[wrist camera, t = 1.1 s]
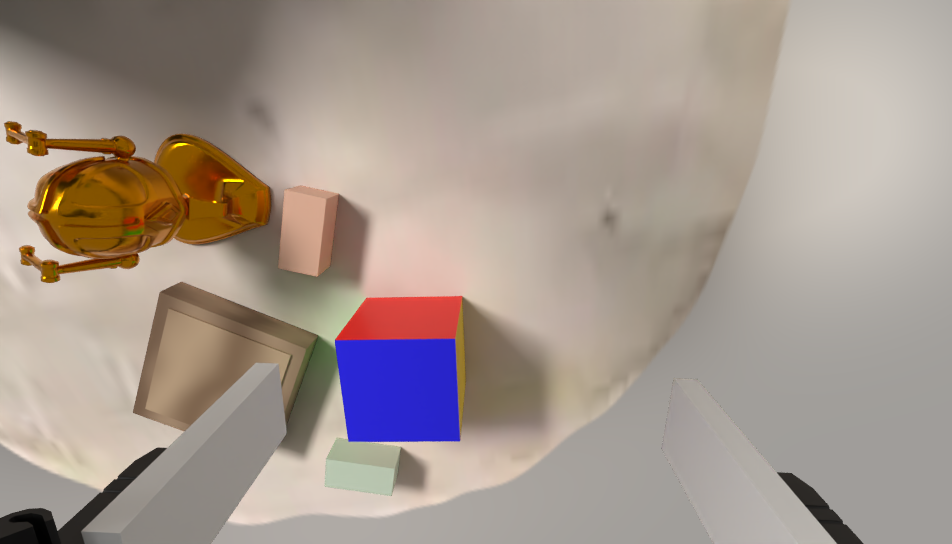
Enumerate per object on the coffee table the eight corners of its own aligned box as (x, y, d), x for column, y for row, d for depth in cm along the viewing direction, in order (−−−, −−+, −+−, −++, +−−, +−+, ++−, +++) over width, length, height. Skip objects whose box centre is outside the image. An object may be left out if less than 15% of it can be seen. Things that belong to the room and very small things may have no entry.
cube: (462, 296, 37) (455, 338, 29) (465, 381, 39) (460, 441, 31) (366, 297, 37) (334, 340, 29) (375, 382, 39) (348, 441, 32)
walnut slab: (153, 396, 40) (131, 413, 38) (181, 281, 37) (158, 292, 34) (280, 442, 41) (266, 462, 39) (318, 335, 38) (305, 349, 35)
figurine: (131, 122, 33) (-58, 116, 22) (274, 151, 34) (162, 160, 22) (135, 232, 36) (-32, 278, 24) (268, 258, 36) (165, 315, 25)
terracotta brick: (330, 265, 36) (317, 276, 33) (294, 257, 36) (277, 268, 33) (339, 193, 35) (326, 198, 32) (301, 185, 34) (284, 189, 32)
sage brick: (335, 462, 42) (324, 486, 39) (337, 436, 41) (326, 459, 38) (398, 471, 42) (391, 496, 39) (401, 445, 41) (394, 468, 38)
